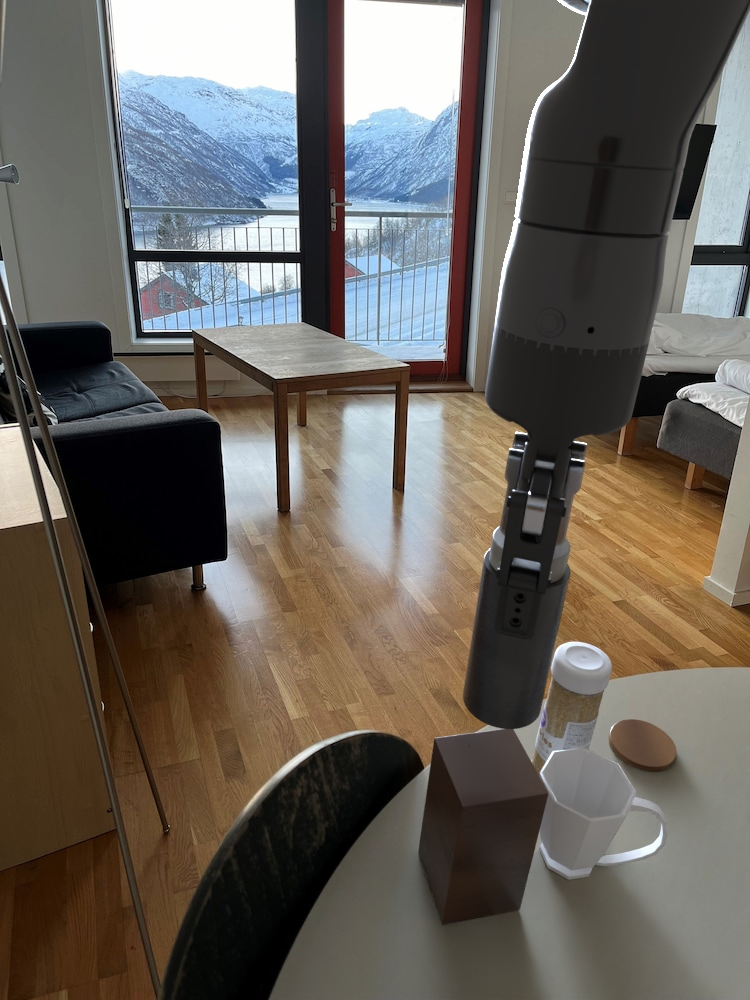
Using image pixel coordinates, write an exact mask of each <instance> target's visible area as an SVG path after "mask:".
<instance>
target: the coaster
mask: <svg viewBox="0 0 750 1000" xmlns="http://www.w3.org/2000/svg"><path fill="white" fill-rule="evenodd" d="M608 742H609V745H610V748H611V749H612V751H613V753H614V754H615V755H616V756H617V757H618V758H619V759H620V760H621V761H623V762H624V763H625V764H628V765H629V766H631V767H633V768H636V769H638V770H641V771H646V772H662V771H665V770H668V769H669V768H671V767H672V766H673V764H674V763H675V760H676V758H677V753H678V752H677V747H676V744H675V742H674V740H673V739H672V737H671V736H670V735H669V734H667V732H665V731H664V730H663V729H662V728H660V727H658V726H657V725H655V724H653V723H650V722H647V721H645V720H641V719H637V718H636V719H634V718H626V719H621V720H619V721H617V722H616V723H614V724H613V725H612V726H611V728H610V730H609V734H608Z"/></svg>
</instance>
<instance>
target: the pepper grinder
mask: <svg viewBox="0 0 750 1000" xmlns="http://www.w3.org/2000/svg"><path fill="white" fill-rule="evenodd" d="M504 538H505V535H503V534H502V532H501V531H500V526H498V527H497V528H496V529H495V530H494V531H493V533H492V538H491V544H490V548H489V549H488V550H487V551H486V552H485V553H484V556H483V561H482V568H481V573H480V580H479V587H478V594H477V601H476V607H475V613H474V620H473V625H472V626H473V627H472V632H471V640H470V644H469V645H470V646H469V651H468V652H469V653H468V658H467V666H466V673H465V678H464V684H463V690H462V691H463V692H462V699H463V700H462V701H463V703H464V706H465V707H466V709H467V710H468V712H469V714H471V715H472V716H473V717H474V718H476V719H477V720H478V721H480V722H481V723H484V724H485V725H488V726H489V727H494V728H496V729H514V730H517V729H523V728H527V727H529V726H530V725H532V724H533V723H534V722H535V721H537V719H538V718H539V716H540V714H541V710H542V706H543V702H544V697H545V692H546V688H547V684H548V680H549V679H548V678H549V674H550V671H551V666H552V662H553V658H554V653H555V652H554V651H555V646H556V642H557V638H558V634H559V629H560V624H561V621H562V615H563V610H564V605H565V601H566V597H567V592H568V589H569V584H570V579H571V573H572V572H571V568H570V565H569V564H568V563H569V557H570V553H571V544H570V542H569V540H568V539H567V538H566V539H565V541H564V543H563V544H561V545H559V546H556V547H555V551H554V556H553V560H552V565H551V570H550V572H552V573H551V578H550V579H551V583H550V588H549V589H548V588H547V589H546V593H545V595H543V594H542V597H541V602H540V607H539V612H538V617H537V622H536V627H535V632H534V636H533V637H532V638H530V639H521V638H517V637H512V636H508V635H503V634H500V633H498V632H497V631H496V629H495V621H496V615H497V609H498V603H499V597H500V591H501V586H500V585H498V578H496V574H497V569H498V568H499V567H500V563H501V558H502V552H503V545H504ZM515 558H517V557H515ZM513 559H514V558H513ZM518 559H522V558H518ZM523 560H527V559H523ZM528 561H532V560H528ZM533 562H537V561H533ZM538 563H539V562H538ZM540 565H541V564H540Z"/></svg>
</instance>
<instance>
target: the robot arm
mask: <svg viewBox="0 0 750 1000" xmlns="http://www.w3.org/2000/svg"><path fill="white" fill-rule="evenodd" d="M557 1H558V2H559V3H561V4H562V6H565V7H567V8H568V9H570V10H571V11H573V12H576V13H578V14H581V15H584V16H585V19H584V22H583V26H582V28H581V29H582V30H581V33H580V35H579V36H580V37H579V40H578V43H577V46H576V50H575V54H574V57H573V59H572V62H571V64H570V65H569V68H568V69H567V70H566V72H565V73H564V74H563V75H562V76H561V77H560V78H558V80H556V81H554V82H553V83H552V84H550V85H549V86H548V87H546V89H544V90H543V92H542V93H541V94H540V96H539V97H538V98H537V101H536V103H535V106H534V108H533V110H532V114H531V117H530V120H529V124H528V128H527V133H526V138H525V146H524V151H523V158H522V165H521V172H520V179H519V185H518V193H517V199H516V207H515V214H514V217H515V220H514V221H513V226H512V232H511V235H510V239H509V244H508V247H507V250H506V253H505V258H504V261H503V267H502V270H501V276H500V277H501V278H500V284H499V289H498V290H499V291H498V298H497V306H496V313H495V320H494V327H493V334H492V340H491V346H490V347H491V348H490V355H489V362H488V369H487V370H488V371H487V377H486V384H485V391H484V392H485V393H484V399H485V403H486V404H487V406H488V408H489V409H490V411H492V412H493V413H494V414H495V415H496V416H498V417H499V418H501V419H503V420H505V421H506V422H508V423H514V424H516V425H518V426H519V427H521V428H522V429H523V430H525V431H526V433H525V432H520V431H519V432H518V431H515V433H514V436H513V442H512V447H510V448H509V450H508V454H507V460H506V464H505V470H504V479H505V481H506V483H507V486H506V491H505V497H504V502H503V507H502V513H501V518H500V524H499V527H500V531H501V532H502V534H503V535H505V538H504V545H503V552H502V558H501V563H500V567H499V568H498V569H497V574H496V578H498V585H500V586H501V591H500V597H499V603H498V609H497V615H496V621H495V629H496V631H497V632H498V633H500V634H503V635H508V636H512V637H517V638H521V639H530V638H532V637H533V636H534V632H535V627H536V622H537V617H538V612H539V607H540V602H541V597H542V594H543V595H545V593H546V589H547V588H548V589H549V588H550V583H551V579H550V578H551V573H552V572H550V570H551V565H552V560H553V556H554V551H555V547H556V546H559V545H561V544H563V543H564V541H565V539H567V533H568V529H569V522H570V519H571V513H572V509H573V508H572V507H573V503H574V498H575V495H576V494H578V492H579V491H580V490H581V487H582V483H583V478H584V473H585V467H586V459H585V458H586V453H587V447H588V443H586V442H582V441H581V442H580V441H575V440H576V439H578V438H581V437H585V436H590V435H592V436H595V437H598V436H604V435H608V434H613V433H615V432H618V431H620V430H621V429H622V428H624V427H625V426H627V424H629V422H630V421H631V419H632V418H633V417H632V416H633V412H634V408H635V405H636V399H637V396H638V392H639V388H640V382H641V379H642V375H643V370H644V367H645V366H644V365H645V361H646V357H647V355H648V354H647V353H648V348H649V345H650V341H651V335H652V331H653V328H654V323H655V319H656V316H657V311H658V306H659V303H660V298H661V294H662V289H663V284H664V283H663V282H664V275H665V264H666V253H667V245H668V240H669V234H668V233H670V231H671V227H672V222H673V218H674V214H675V211H676V206H677V201H678V197H679V193H680V187H681V183H682V180H683V175H684V169H685V166H686V161H687V156H688V151H689V147H690V146H689V145H690V141H691V138H692V134H693V131H694V129H695V126H696V124H697V122H698V120H699V118H700V116H701V115H702V112H703V110H704V108H705V106H706V105H707V103H708V101H709V99H710V97H711V95H712V93H713V91H714V89H715V88H716V86H717V84H718V82H719V80H720V77H721V75H722V73H723V71H724V69H725V66H726V64H727V61H728V59H729V57H730V55H731V53H732V51H733V49H734V47H735V44H736V43H737V42H736V41H738V37H739V36H740V34H741V31H742V30H743V27H744V25H745V22H746V20H747V18H748V16H749V13H750V0H557ZM515 557H517V558H515ZM513 558H514V559H513ZM518 558H522V559H518ZM523 559H527V560H523ZM528 560H532V561H528ZM533 561H537V562H533ZM538 562H539V563H538ZM540 564H541V565H540Z"/></svg>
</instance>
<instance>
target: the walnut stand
mask: <svg viewBox="0 0 750 1000" xmlns="http://www.w3.org/2000/svg"><path fill="white" fill-rule="evenodd" d="M431 751H432V752H431V759H430V764H429V765H430V766H429V773H428V780H427V788H426V793H425V794H426V795H425V800H424V807H423V814H422V815H423V816H422V822H421V830H420V835H419V836H420V837H419V844H418V849H417V850H418V851H417V852H418V856H419V859H420V862H421V865H422V868H423V871H424V875H425V877H426V881H427V884H428V886H429V890H430V893H431V896H432V899H433V903H434V905H435V907H436V911H437V914H438V918H439V920H440V923H441V925H442V926H444V925H449V924H455V923H460V922H465V921H470V920H476V919H481V918H486V917H490V916H496V915H500V914H505V913H511V912H517V911H520V910H521V907H522V903H523V900H524V895H525V891H526V887H527V883H528V880H529V876H530V875H529V874H530V870H531V867H532V862H533V858H534V855H535V851H536V846H537V842H538V839H539V836H540V826H541V822H542V818H543V814H544V810H545V806H546V802H547V798H548V794H549V793H548V791H547V789H546V788H545V786H544V784H543V782H542V780H541V779H540V777H539V775H538V773H537V771H536V769H535V768H534V766H533V764H532V762H531V760H532V759H530V756H529V755H528V753H527V751H526V750H525V747H524V746H523V744H522V742H521V740H520V738H519V737H518V734H517V733H516V731H515V729H502V728H498V729H492V730H491V729H490V730H485V731H477V732H470V733H460V734H454V735H447V736H439V737H434V738H433V744H432V750H431Z"/></svg>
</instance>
